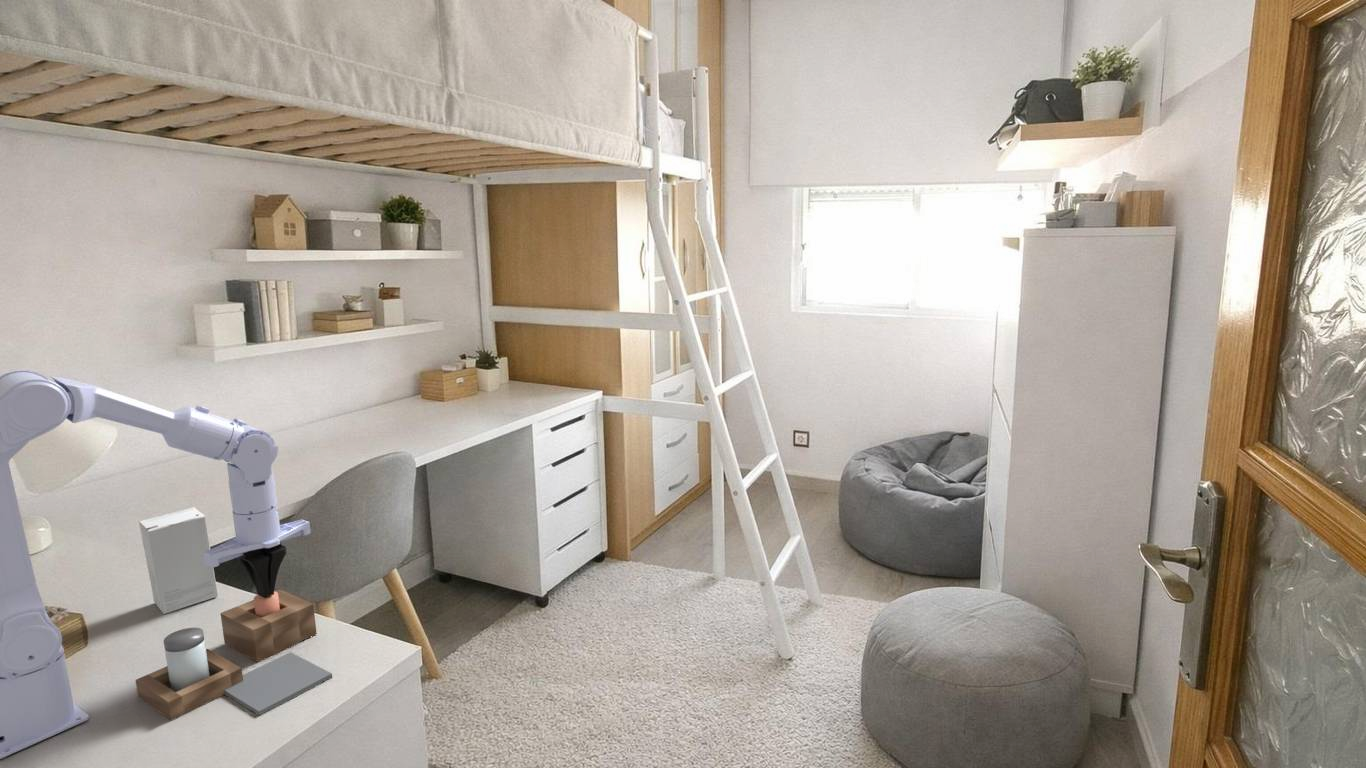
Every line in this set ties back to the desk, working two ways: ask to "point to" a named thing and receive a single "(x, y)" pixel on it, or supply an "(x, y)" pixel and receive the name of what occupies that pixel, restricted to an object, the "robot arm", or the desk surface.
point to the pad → (276, 683)
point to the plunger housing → (268, 627)
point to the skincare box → (178, 559)
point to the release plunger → (266, 605)
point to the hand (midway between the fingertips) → (265, 594)
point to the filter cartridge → (186, 658)
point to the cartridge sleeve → (178, 703)
